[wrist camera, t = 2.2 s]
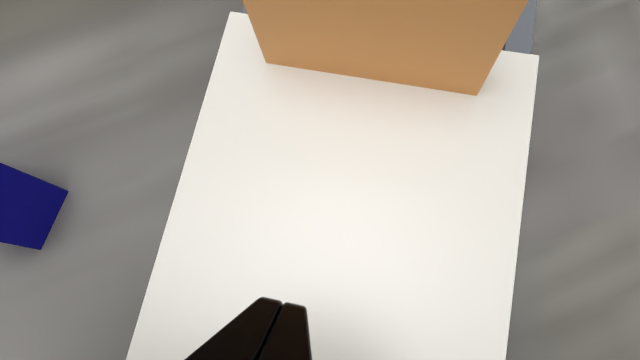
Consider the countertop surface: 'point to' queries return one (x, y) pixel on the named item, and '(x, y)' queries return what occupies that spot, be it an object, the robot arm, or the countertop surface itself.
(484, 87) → the lid
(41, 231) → the cable clip
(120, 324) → the countertop surface
